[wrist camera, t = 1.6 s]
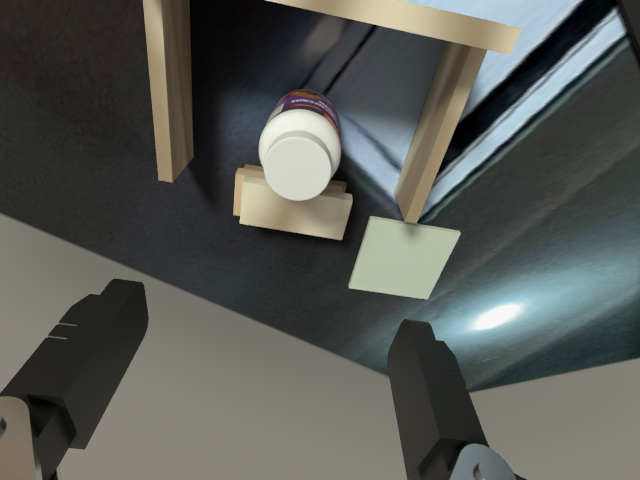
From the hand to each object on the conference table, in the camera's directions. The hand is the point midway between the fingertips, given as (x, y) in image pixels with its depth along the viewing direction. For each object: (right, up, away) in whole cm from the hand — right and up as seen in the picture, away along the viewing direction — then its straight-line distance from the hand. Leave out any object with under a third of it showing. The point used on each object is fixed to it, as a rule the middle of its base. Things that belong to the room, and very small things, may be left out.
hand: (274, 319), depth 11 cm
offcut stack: (-1, +7, +21) cm, 22 cm away
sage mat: (+10, +1, +25) cm, 27 cm away
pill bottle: (0, +12, +17) cm, 21 cm away
